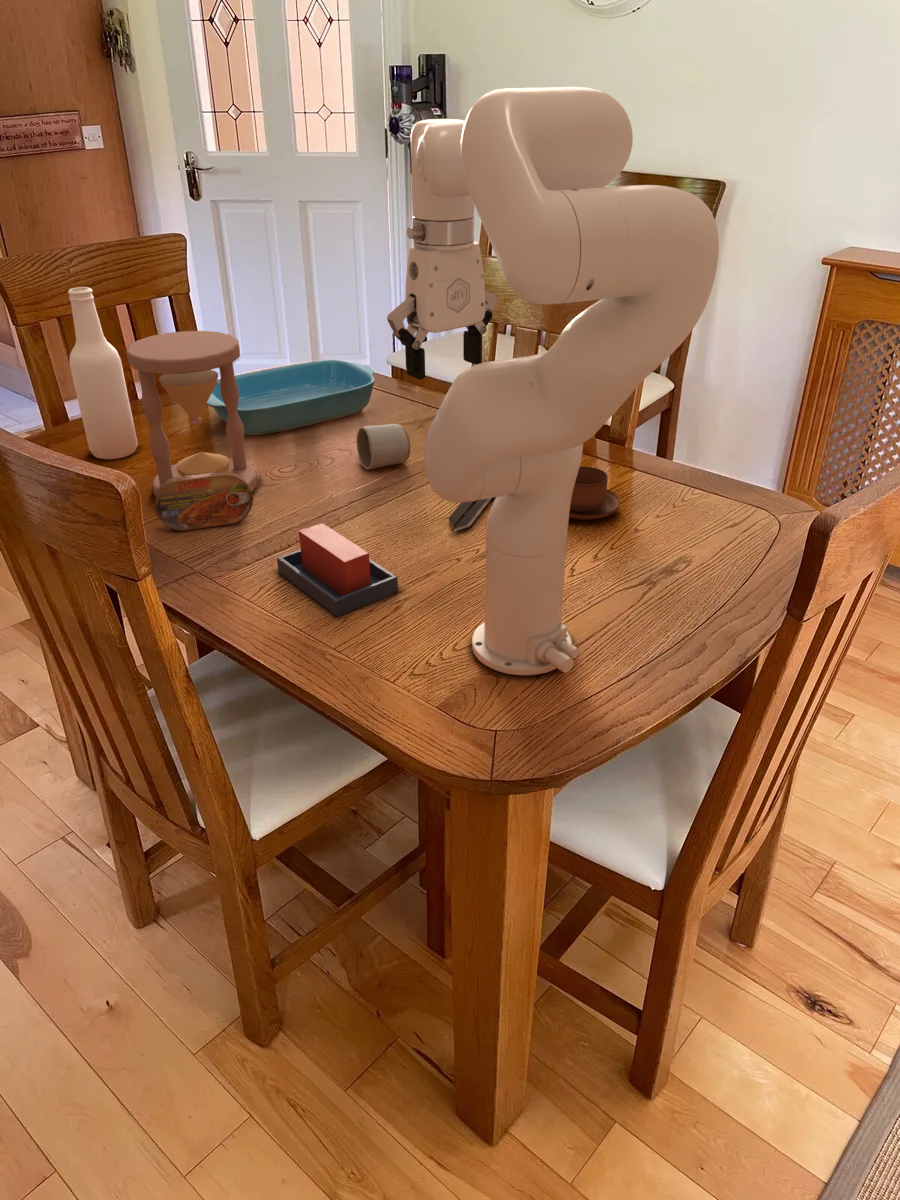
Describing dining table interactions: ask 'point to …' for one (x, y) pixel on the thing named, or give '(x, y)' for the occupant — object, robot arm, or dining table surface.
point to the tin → (203, 500)
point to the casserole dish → (298, 395)
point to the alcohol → (99, 383)
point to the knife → (470, 515)
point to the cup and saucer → (592, 495)
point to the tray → (330, 599)
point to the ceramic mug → (382, 445)
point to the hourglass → (190, 396)
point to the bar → (334, 559)
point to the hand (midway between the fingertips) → (444, 369)
